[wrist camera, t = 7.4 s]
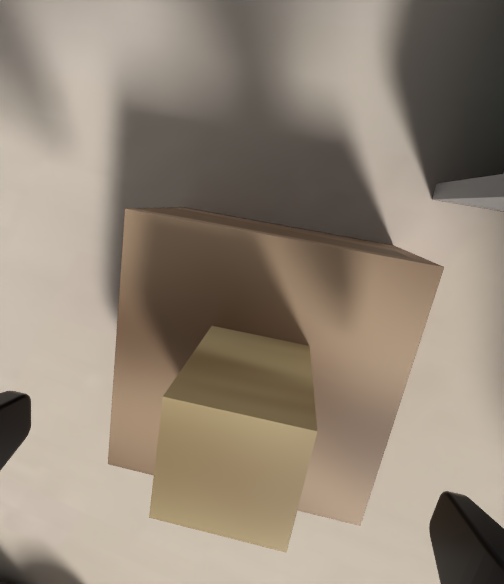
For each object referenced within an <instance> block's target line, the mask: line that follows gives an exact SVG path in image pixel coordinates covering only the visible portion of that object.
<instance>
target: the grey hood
mask: <svg viewBox="0 0 504 584" xmlns="http://www.w3.org/2000/svg"><path fill="white" fill-rule="evenodd" d="M432 199H433V200H438V201H444V202H450V203H456V204H462V205H468V206H474V207H480V208H486V209H492V210H497V211H503V212H504V172H503V174H499V175H492V176H485V177H478V178H471V179H465V180H458V181H451V182H444V183H437V185H436V188H435V192H434V195H433V198H432Z"/></svg>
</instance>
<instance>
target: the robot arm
mask: <svg viewBox="0 0 504 584" xmlns="http://www.w3.org/2000/svg"><path fill="white" fill-rule="evenodd" d="M30 428H31V399H30V397H29V395H27V394H24V393H20V392H16V391H6V392H3V393H0V470H1V469H2V468H3V467H4V465H5V464H6V463H7V461H8V460H9V459H10V458H11V456H12V455H13V454H14V453H15V451H16V450H17V449H18V447H19V446H20V445H21V444H22V442H23V441H24V440H25V438H26V437H27V435H28V433H29V431H30ZM429 530H430V537H431V542H432V547H433V551H434V556H435V560H436V565H437V569H438V574H439V578H440V583H441V584H504V528H502V527H501V526H500V525H499V524H498V523H497V522H496V521H494V520H493V519H492V518H491V517H490V516H489V515H488V514H486V513H485V512H484V511H483V510H482V509H481V508H480V507H479V506H477V505H476V504H475V503H474V502H473V501H472V500H471V499H469V498H468V497H467V496H465V495H462V494H458V493H453V492H449V491H445V492H443V493H442V494H441V495H440V497H439V500H438V503H437V505H436V508H435V510H434V513H433V515H432V518H431V521H430V527H429Z"/></svg>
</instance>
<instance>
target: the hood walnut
mask: <svg viewBox="0 0 504 584" xmlns="http://www.w3.org/2000/svg"><path fill="white" fill-rule="evenodd" d="M443 269H444V267H443V266H440V265H438V264H436V263H433V262H431V261H429V260H426V259H424V258H422V257H419V256H417V255H415V254H412V253H410V252H408V251H405V250H403V249H401V248H398V247H396V246H394V245H388V244H383V243H377V242H371V241H366V240H360V239H355V238H349V237H344V236H338V235H333V234H327V233H322V232H316V231H310V230H305V229H299V228H294V227H288V226H283V225H277V224H272V223H266V222H260V221H255V220H249V219H244V218H238V217H233V216H227V215H222V214H216V213H211V212H205V211H199V210H194V209H188V208H183V207H170V208H132V209H125V217H124V232H123V246H122V261H121V276H120V291H119V306H118V321H117V336H116V351H115V365H114V380H113V395H112V410H111V425H110V440H109V455H108V464H110V465H114V466H118V467H122V468H126V469H130V470H134V471H138V472H142V473H147V474H151V475H154V479H153V488H152V497H151V506H150V515H149V518H153V519H157V520H161V521H165V522H169V523H173V524H177V525H181V526H184V527H188V528H192V529H196V530H200V531H204V532H208V533H212V534H216V535H220V536H224V537H228V538H232V539H236V540H239V541H243V542H247V543H251V544H255V545H259V546H263V547H267V548H271V549H275V550H279V551H283V552H287V548H288V544H289V540H290V537H291V533H292V529H293V525H294V521H295V517H296V513H297V510H298V511H302V512H306V513H310V514H314V515H318V516H322V517H327V518H331V519H335V520H339V521H343V522H347V523H351V524H355V525H359V526H360V525H361V522H362V519H363V516H364V513H365V510H366V507H367V504H368V501H369V497H370V494H371V491H372V488H373V485H374V482H375V479H376V476H377V473H378V470H379V467H380V464H381V460H382V457H383V454H384V451H385V448H386V445H387V442H388V439H389V436H390V433H391V430H392V427H393V423H394V420H395V417H396V414H397V411H398V408H399V405H400V402H401V399H402V396H403V393H404V389H405V386H406V383H407V380H408V377H409V374H410V371H411V368H412V365H413V362H414V359H415V356H416V352H417V349H418V346H419V343H420V340H421V337H422V334H423V331H424V328H425V325H426V322H427V319H428V315H429V312H430V309H431V306H432V303H433V300H434V297H435V294H436V291H437V288H438V285H439V282H440V278H441V275H442V272H443Z"/></svg>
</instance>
